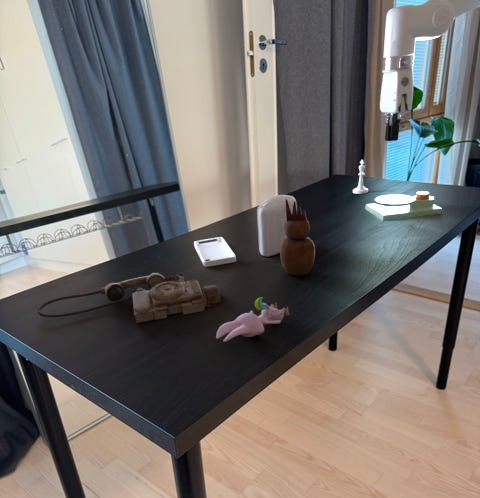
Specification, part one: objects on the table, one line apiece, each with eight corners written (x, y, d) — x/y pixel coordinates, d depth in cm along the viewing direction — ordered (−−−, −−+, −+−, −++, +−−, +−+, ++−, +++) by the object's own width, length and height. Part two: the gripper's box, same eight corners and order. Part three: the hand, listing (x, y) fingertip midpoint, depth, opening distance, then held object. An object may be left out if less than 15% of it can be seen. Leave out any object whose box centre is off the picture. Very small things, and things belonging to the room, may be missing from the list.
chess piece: (359, 194, 133) (360, 161, 128) (349, 192, 137) (350, 160, 132) (371, 191, 135) (373, 159, 130) (361, 189, 139) (363, 157, 134)
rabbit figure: (267, 316, 73) (205, 343, 63) (268, 284, 71) (204, 306, 61) (296, 326, 69) (235, 357, 59) (299, 293, 67) (236, 318, 57)
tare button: (424, 197, 115) (425, 190, 114) (430, 200, 112) (431, 193, 111) (413, 198, 115) (414, 192, 114) (419, 201, 112) (420, 194, 111)
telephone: (43, 304, 82) (36, 285, 80) (208, 275, 88) (205, 256, 85) (31, 347, 69) (22, 326, 67) (224, 309, 75) (221, 289, 73)
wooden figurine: (276, 275, 85) (272, 202, 77) (288, 265, 89) (286, 194, 81) (307, 280, 81) (306, 204, 74) (318, 269, 85) (319, 196, 78)
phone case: (236, 261, 93) (222, 241, 106) (236, 256, 92) (221, 236, 105) (204, 267, 92) (194, 246, 104) (203, 262, 91) (193, 241, 104)
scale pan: (403, 195, 117) (403, 192, 117) (420, 203, 109) (421, 201, 108) (368, 199, 117) (369, 197, 116) (384, 208, 108) (384, 206, 108)
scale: (420, 202, 120) (421, 191, 119) (443, 213, 110) (445, 201, 108) (365, 209, 119) (365, 198, 117) (382, 221, 109) (383, 209, 107)
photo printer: (286, 241, 101) (285, 190, 95) (300, 245, 98) (299, 192, 92) (256, 254, 96) (252, 200, 90) (269, 258, 93) (266, 203, 87)
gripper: (426, 62, 102) (417, 142, 112) (397, 64, 115) (391, 136, 124) (397, 65, 102) (390, 145, 111) (371, 67, 115) (367, 139, 124)
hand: (391, 140), depth 118 cm, fingers closed
